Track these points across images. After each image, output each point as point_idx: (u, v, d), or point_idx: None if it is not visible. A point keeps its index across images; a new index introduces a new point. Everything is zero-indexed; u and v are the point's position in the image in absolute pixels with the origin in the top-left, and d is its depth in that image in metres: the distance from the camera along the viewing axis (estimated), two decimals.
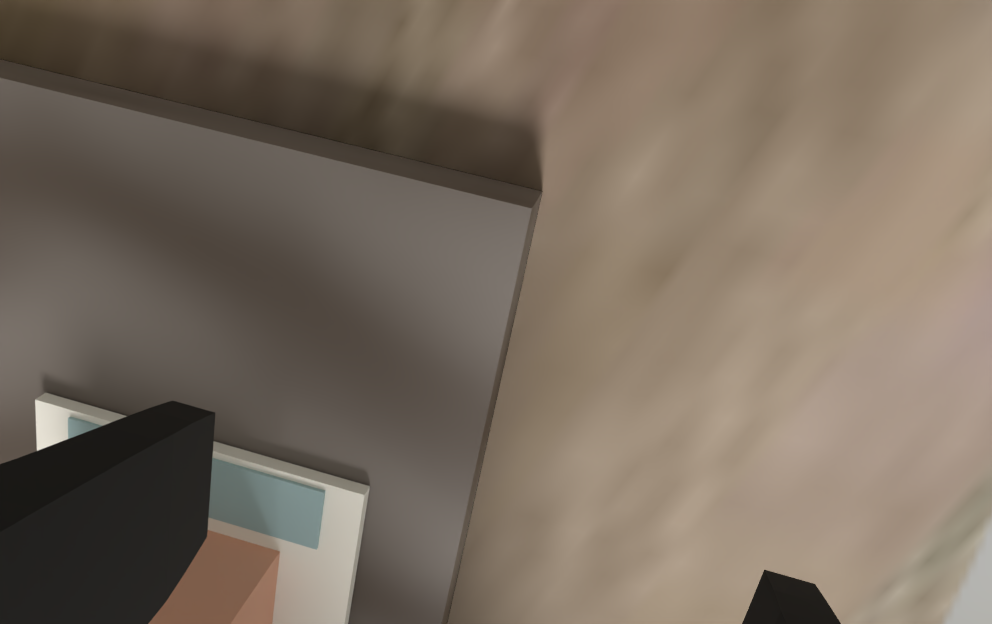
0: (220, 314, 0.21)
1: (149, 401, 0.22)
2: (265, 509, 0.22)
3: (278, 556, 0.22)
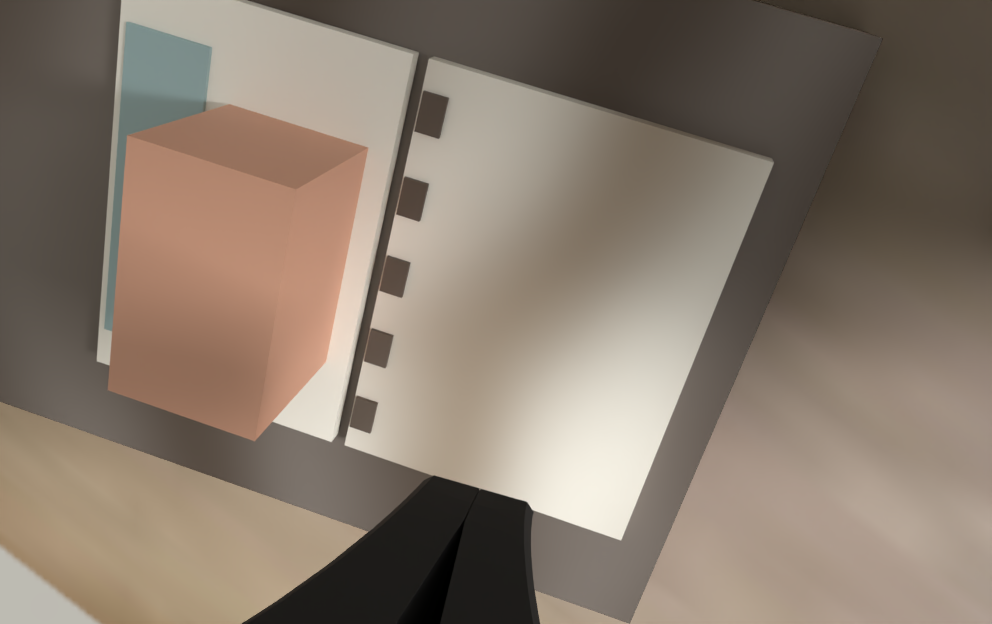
0: None
1: (92, 236, 0.20)
2: (166, 109, 0.17)
3: (232, 106, 0.17)
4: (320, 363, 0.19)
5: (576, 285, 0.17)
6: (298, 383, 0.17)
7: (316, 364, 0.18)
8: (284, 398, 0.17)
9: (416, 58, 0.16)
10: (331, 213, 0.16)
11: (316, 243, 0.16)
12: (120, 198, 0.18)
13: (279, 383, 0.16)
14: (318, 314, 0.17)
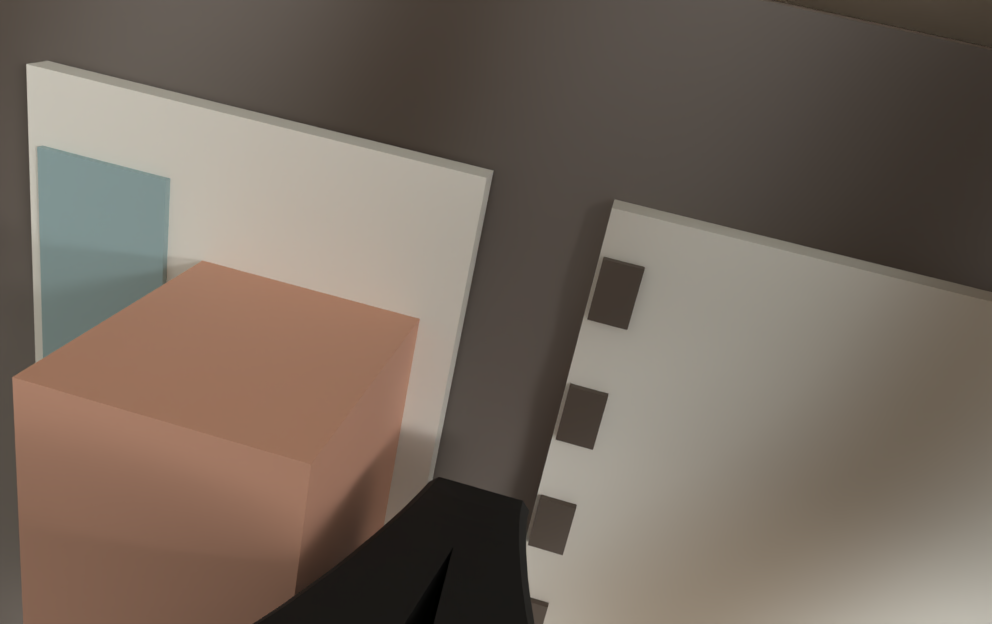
0: None
1: None
2: (108, 271, 0.11)
3: (207, 264, 0.11)
4: None
5: (848, 539, 0.11)
6: None
7: None
8: None
9: (490, 181, 0.10)
10: (370, 443, 0.10)
11: (347, 501, 0.10)
12: None
13: None
14: None
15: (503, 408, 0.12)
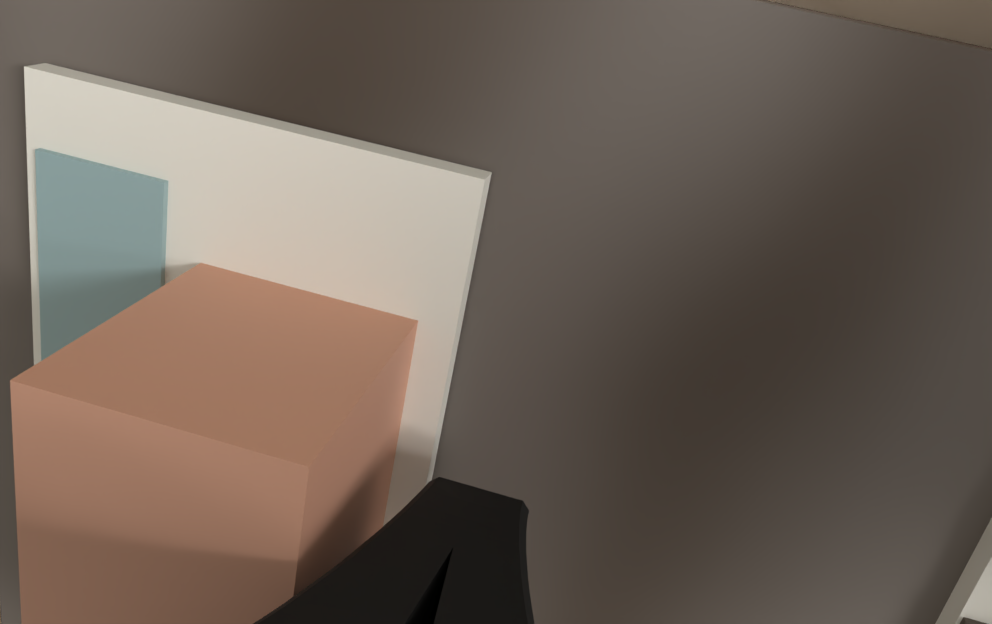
0: None
1: None
2: (107, 273, 0.11)
3: (205, 266, 0.11)
4: None
5: None
6: None
7: None
8: None
9: (488, 182, 0.10)
10: (368, 446, 0.10)
11: (346, 503, 0.10)
12: None
13: None
14: None
15: (920, 525, 0.11)
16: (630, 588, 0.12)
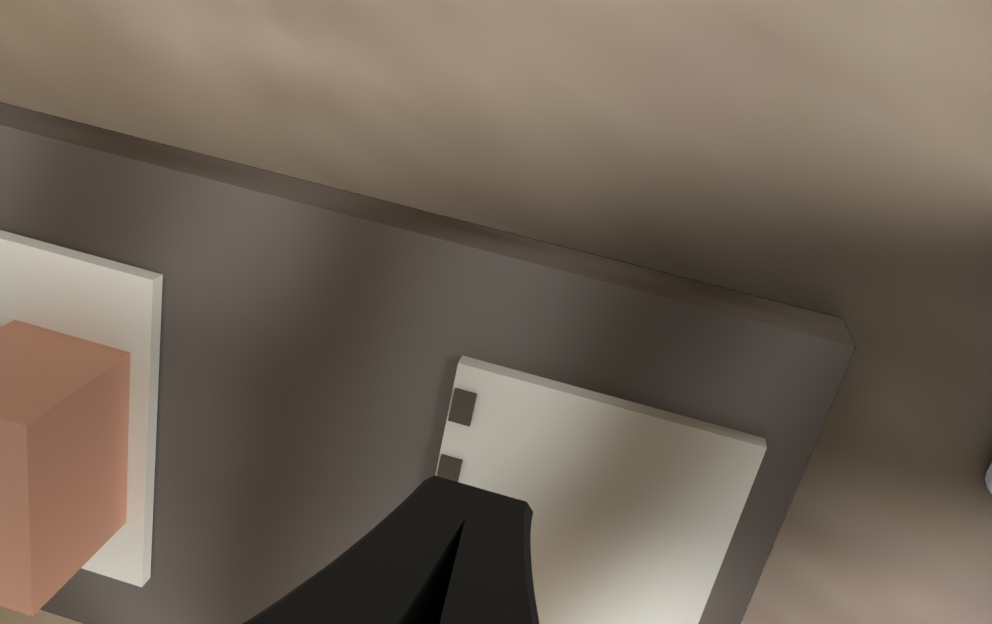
0: None
1: (163, 491, 0.22)
2: None
3: (16, 321, 0.20)
4: (117, 526, 0.22)
5: (598, 541, 0.19)
6: (86, 553, 0.20)
7: (110, 529, 0.21)
8: (68, 571, 0.20)
9: (160, 280, 0.19)
10: (89, 419, 0.19)
11: (73, 448, 0.19)
12: None
13: (55, 563, 0.19)
14: (99, 494, 0.20)
15: (407, 465, 0.20)
16: (271, 504, 0.21)
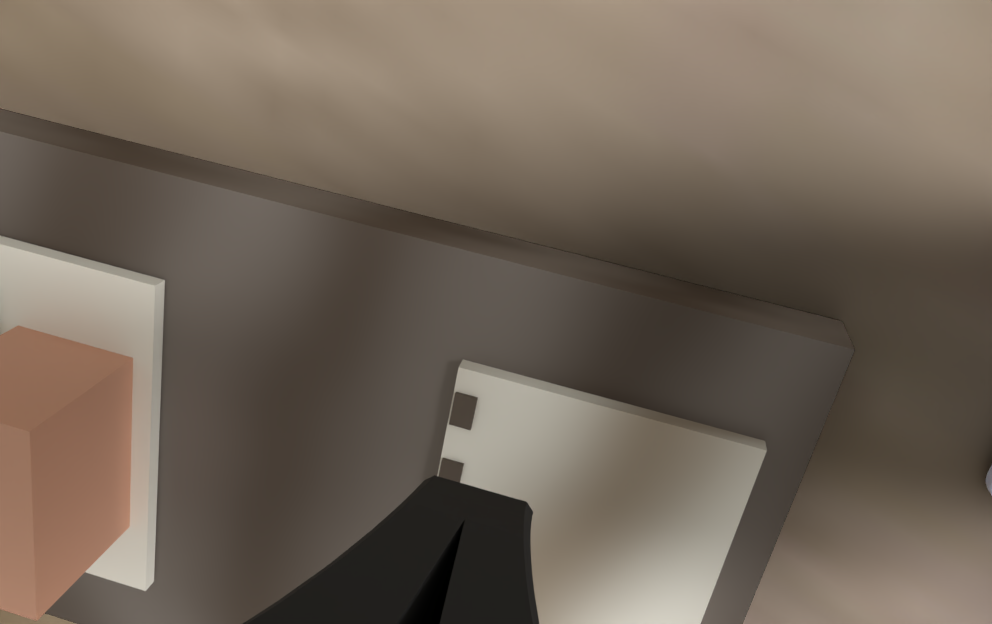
0: None
1: (166, 495, 0.22)
2: None
3: (20, 327, 0.20)
4: (121, 530, 0.22)
5: (599, 544, 0.19)
6: (90, 557, 0.21)
7: (114, 534, 0.21)
8: (72, 575, 0.20)
9: (162, 285, 0.20)
10: (92, 424, 0.19)
11: (76, 453, 0.19)
12: None
13: (59, 568, 0.19)
14: (102, 499, 0.20)
15: (409, 469, 0.20)
16: (273, 508, 0.21)
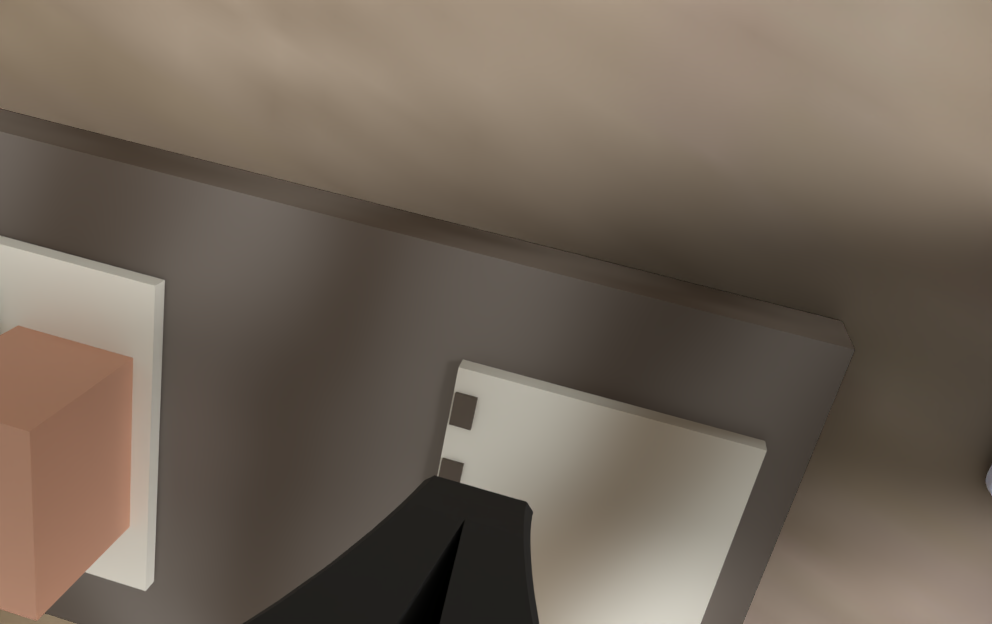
0: None
1: (166, 495, 0.22)
2: None
3: (20, 327, 0.20)
4: (121, 530, 0.22)
5: (599, 544, 0.19)
6: (90, 557, 0.21)
7: (114, 534, 0.21)
8: (72, 575, 0.20)
9: (162, 285, 0.20)
10: (92, 424, 0.19)
11: (76, 453, 0.19)
12: None
13: (59, 568, 0.19)
14: (102, 499, 0.20)
15: (409, 469, 0.20)
16: (273, 508, 0.21)
